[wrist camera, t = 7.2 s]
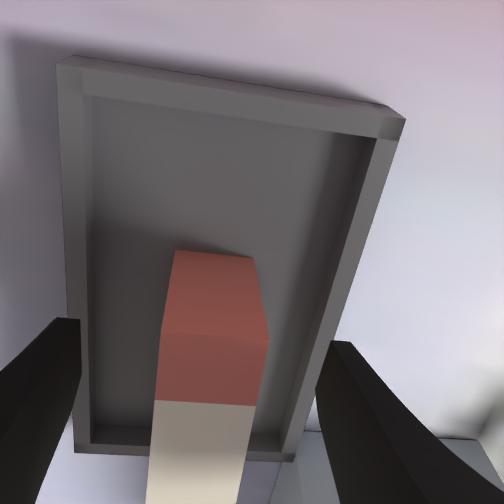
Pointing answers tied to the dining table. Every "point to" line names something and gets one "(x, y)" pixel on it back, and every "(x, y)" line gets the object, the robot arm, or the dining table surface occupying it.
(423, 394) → the dining table surface
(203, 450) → the pink-topped cream pillar
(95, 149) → the tray
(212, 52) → the dining table surface
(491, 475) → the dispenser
